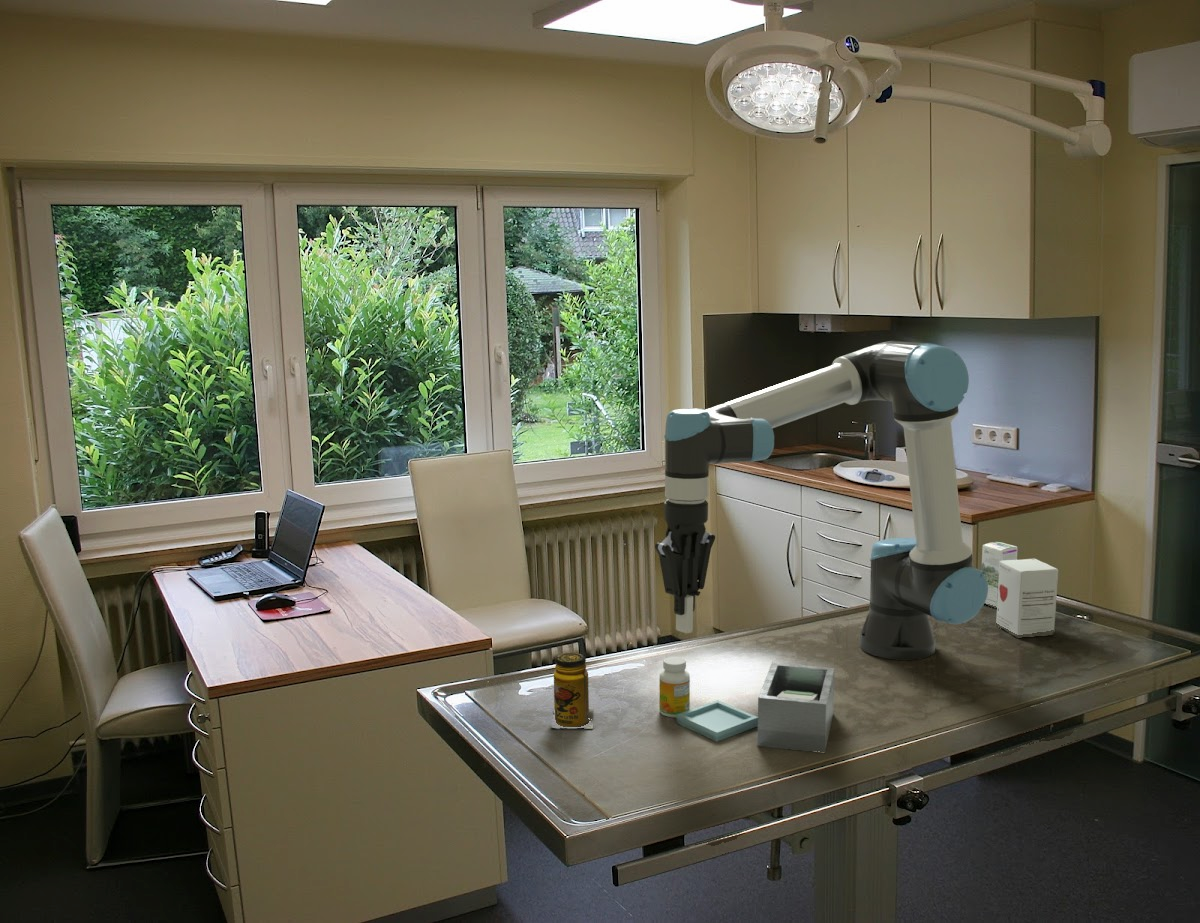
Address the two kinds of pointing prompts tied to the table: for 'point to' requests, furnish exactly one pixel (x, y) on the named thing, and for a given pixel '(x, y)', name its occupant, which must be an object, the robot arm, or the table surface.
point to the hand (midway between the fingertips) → (684, 630)
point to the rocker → (798, 695)
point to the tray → (717, 720)
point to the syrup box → (995, 566)
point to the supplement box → (1026, 596)
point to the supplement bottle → (674, 687)
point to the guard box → (796, 708)
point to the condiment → (572, 691)
